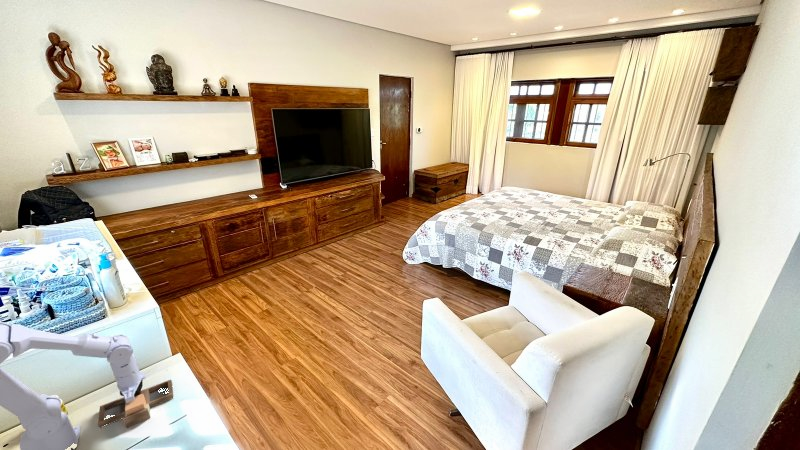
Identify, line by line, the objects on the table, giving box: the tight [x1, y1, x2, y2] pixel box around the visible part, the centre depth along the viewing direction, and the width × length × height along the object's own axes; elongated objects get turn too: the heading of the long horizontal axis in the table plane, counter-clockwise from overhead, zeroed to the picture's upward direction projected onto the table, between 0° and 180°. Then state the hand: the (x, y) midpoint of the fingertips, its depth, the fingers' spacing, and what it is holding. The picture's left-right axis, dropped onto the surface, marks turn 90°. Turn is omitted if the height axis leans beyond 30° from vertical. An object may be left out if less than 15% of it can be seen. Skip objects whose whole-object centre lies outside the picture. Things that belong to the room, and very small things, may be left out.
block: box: [125, 394, 146, 416], centre depth 100 cm, size 4×4×4 cm
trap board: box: [97, 379, 174, 428], centre depth 102 cm, size 19×11×4 cm, turn 127°
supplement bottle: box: [50, 394, 69, 416], centre depth 96 cm, size 5×5×8 cm
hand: (136, 399), depth 103 cm, fingers closed
